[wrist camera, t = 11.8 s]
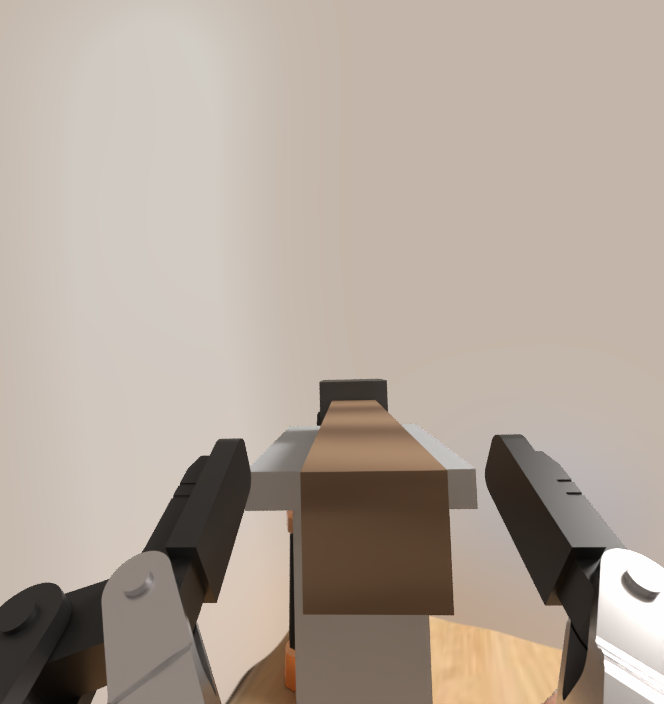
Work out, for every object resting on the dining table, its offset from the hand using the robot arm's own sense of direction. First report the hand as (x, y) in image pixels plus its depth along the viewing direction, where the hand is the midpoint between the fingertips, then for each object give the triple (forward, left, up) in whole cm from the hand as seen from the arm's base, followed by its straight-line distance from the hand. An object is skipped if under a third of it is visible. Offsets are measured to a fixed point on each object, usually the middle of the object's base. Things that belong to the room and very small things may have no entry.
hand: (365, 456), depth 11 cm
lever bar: (-5, -6, -2) cm, 8 cm away
